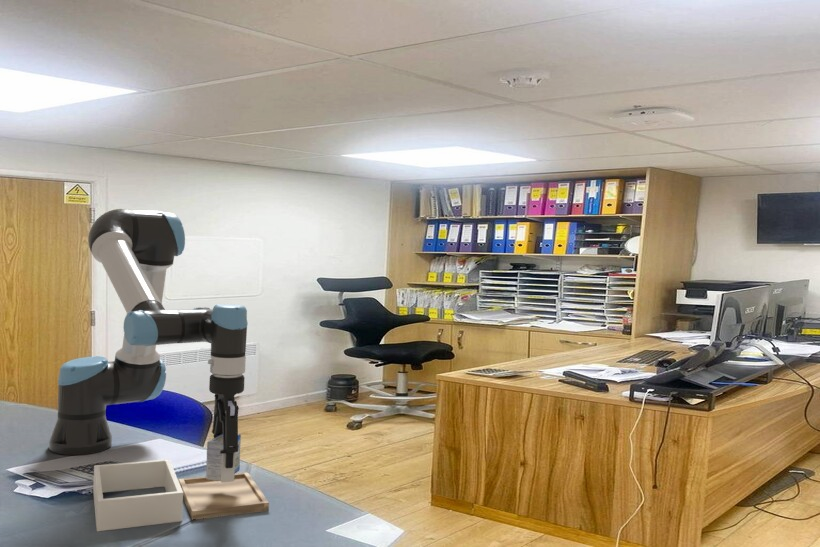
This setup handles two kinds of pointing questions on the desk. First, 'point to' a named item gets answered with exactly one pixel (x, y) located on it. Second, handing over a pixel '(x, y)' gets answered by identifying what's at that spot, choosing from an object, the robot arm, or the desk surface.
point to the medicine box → (218, 458)
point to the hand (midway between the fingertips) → (223, 474)
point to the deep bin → (141, 506)
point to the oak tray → (222, 496)
